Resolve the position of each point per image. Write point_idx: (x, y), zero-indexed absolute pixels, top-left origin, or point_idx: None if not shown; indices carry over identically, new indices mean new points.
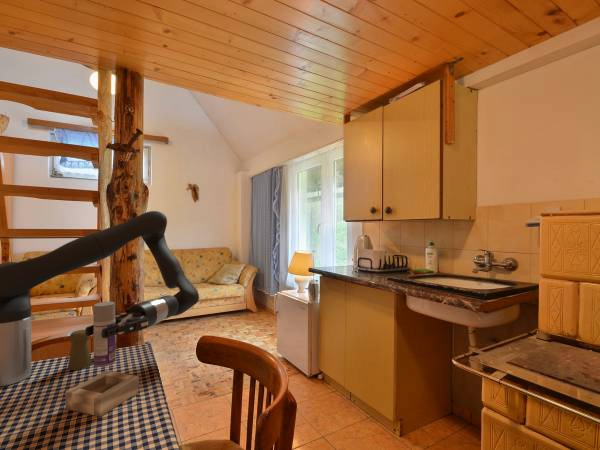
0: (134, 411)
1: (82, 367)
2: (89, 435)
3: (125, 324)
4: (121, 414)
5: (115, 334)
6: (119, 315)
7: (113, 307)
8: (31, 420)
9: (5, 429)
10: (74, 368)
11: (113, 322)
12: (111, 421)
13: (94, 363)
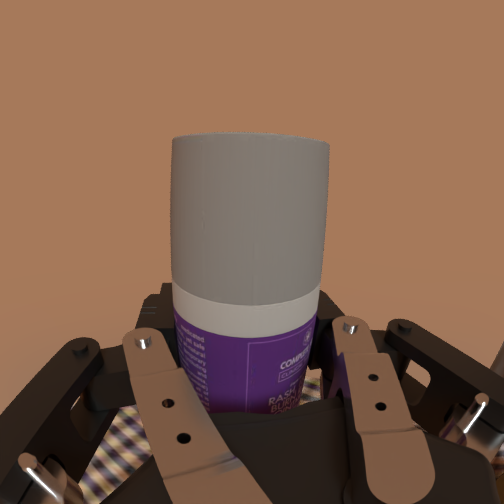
0: (104, 482)
1: None
2: (137, 410)
3: (88, 338)
4: (126, 469)
5: (205, 408)
6: (382, 426)
7: (173, 172)
8: (300, 400)
9: (306, 376)
10: (496, 483)
11: (173, 300)
12: (129, 446)
13: None
